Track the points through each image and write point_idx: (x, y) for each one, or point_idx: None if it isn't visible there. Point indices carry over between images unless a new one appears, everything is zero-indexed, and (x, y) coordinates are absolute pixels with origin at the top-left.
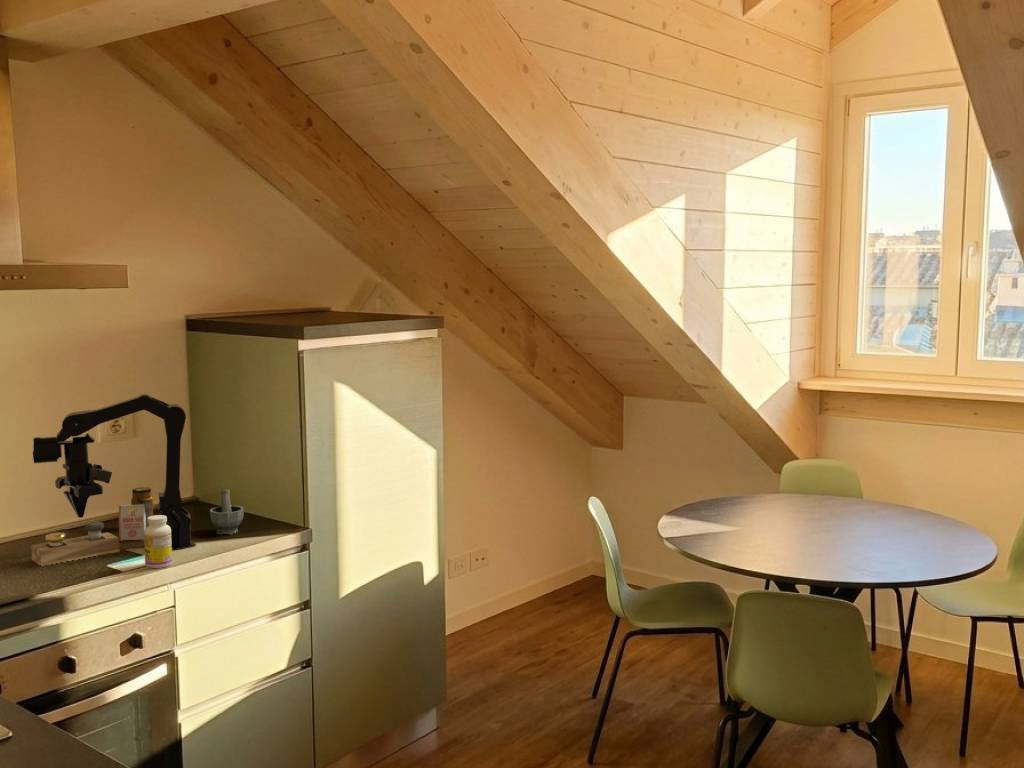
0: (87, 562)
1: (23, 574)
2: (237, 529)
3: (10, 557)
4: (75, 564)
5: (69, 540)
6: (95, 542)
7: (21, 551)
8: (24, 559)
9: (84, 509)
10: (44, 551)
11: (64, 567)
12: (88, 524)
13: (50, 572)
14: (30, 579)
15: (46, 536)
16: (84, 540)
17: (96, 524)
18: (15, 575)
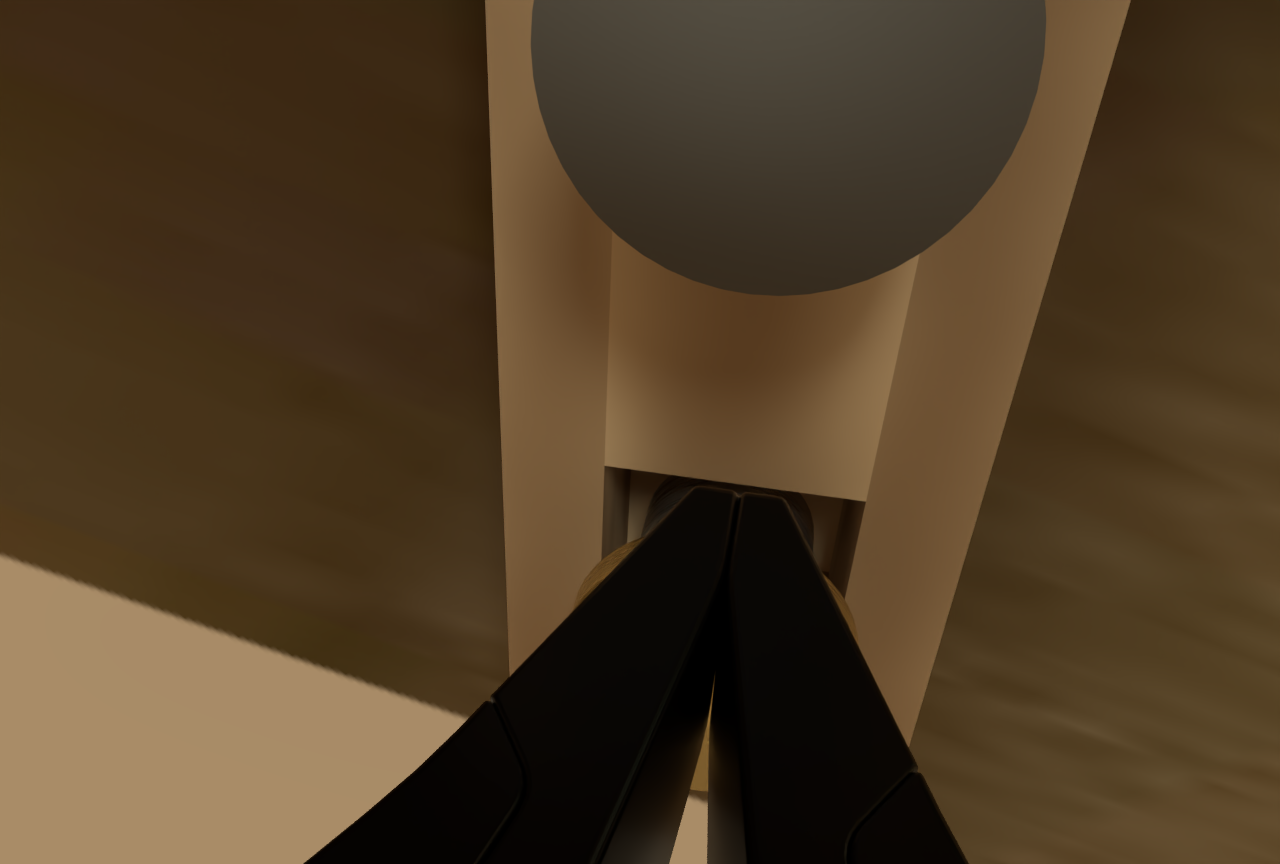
0: (1226, 274)
1: (1008, 822)
2: None
3: (325, 657)
4: (1157, 414)
5: (611, 369)
6: (1091, 110)
7: (145, 521)
8: (482, 623)
9: (854, 660)
10: None
11: (1153, 541)
12: (660, 172)
13: (1192, 692)
14: (1231, 859)
15: (696, 786)
16: None
17: (818, 14)
18: (975, 858)
